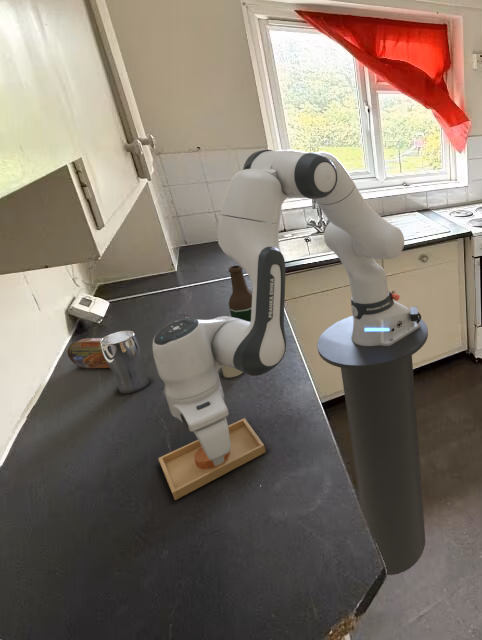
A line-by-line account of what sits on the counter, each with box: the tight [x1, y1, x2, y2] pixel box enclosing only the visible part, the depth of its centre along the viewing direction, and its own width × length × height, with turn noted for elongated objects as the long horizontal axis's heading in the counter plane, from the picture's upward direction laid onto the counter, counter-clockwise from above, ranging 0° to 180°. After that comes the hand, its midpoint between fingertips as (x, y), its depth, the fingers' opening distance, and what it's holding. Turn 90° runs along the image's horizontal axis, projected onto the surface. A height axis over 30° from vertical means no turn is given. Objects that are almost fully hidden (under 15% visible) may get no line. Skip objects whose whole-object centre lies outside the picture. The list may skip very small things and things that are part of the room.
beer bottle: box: [228, 264, 252, 322], centre depth 133 cm, size 8×8×24 cm
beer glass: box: [100, 330, 150, 394], centre depth 109 cm, size 7×7×15 cm
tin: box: [67, 337, 110, 369], centre depth 119 cm, size 15×3×8 cm, turn 92°
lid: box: [194, 447, 230, 469], centre depth 90 cm, size 6×6×2 cm
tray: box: [157, 417, 267, 501], centre depth 90 cm, size 16×12×2 cm
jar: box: [220, 365, 244, 379], centre depth 117 cm, size 5×5×11 cm
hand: (211, 450), depth 89 cm, fingers open, 8 cm apart
